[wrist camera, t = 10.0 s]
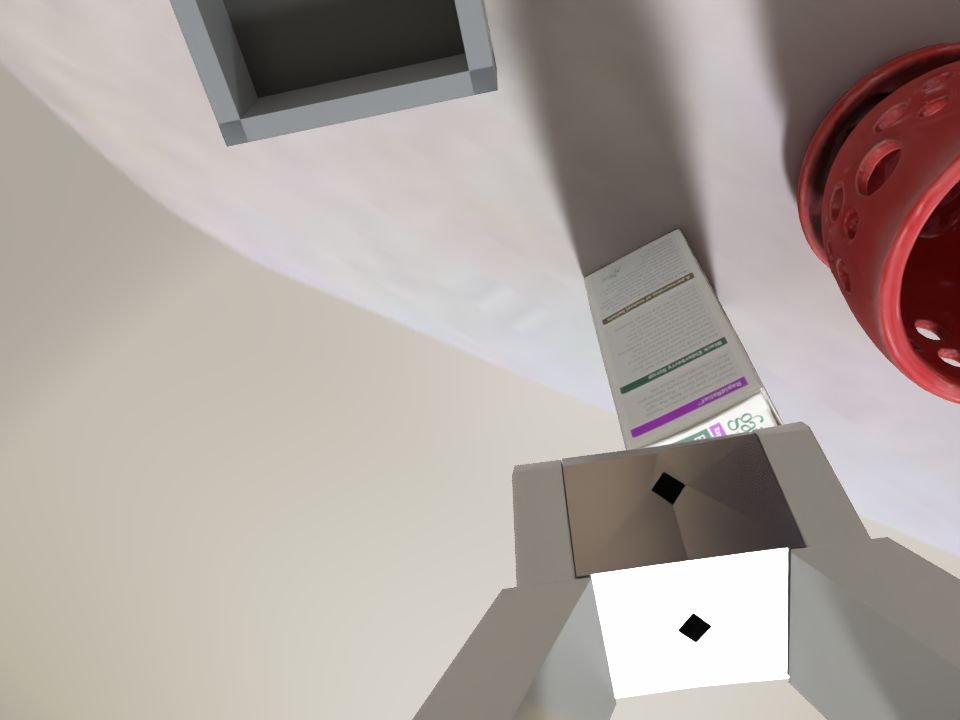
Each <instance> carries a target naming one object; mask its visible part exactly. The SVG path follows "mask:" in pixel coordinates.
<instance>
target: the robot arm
mask: <svg viewBox="0 0 960 720" xmlns="http://www.w3.org/2000/svg"><path fill="white" fill-rule="evenodd" d="M512 483H513V507H514V529H515V554H516V577H517V587H514V588H508V589H502V591H501V592H500V594H499V595H498V597H497V598H496V599H495V601H494V602H493V604H492V605H491V607H490V608H489V609H488V611H487V612H486V614H485V615H484V617H483V618H482V620H481V621H480V622H479V624H478V625H477V627H476V628H475V630H474V631H473V633H472V634H471V636H470V637H469V638H468V640H467V641H466V643H465V644H464V646H463V647H462V649H461V650H460V652H459V653H458V654H457V656H456V657H455V659H454V660H453V662H452V663H451V665H450V666H449V668H448V669H447V670H446V672H445V673H444V675H443V676H442V678H441V679H440V681H439V682H438V683H437V685H436V686H435V688H434V689H433V691H432V692H431V694H430V695H429V697H428V698H427V699H426V701H425V703H424V704H423V705H422V707H421V708H420V709H419V711H418V712H417V714H416V715H415V717H414V718H413V720H610V718H611V715H612V713H613V710H614V708H615V706H616V699H615V698H620V697H627V696H635V695H642V694H648V693H654V692H662V691H668V690H676V689H682V688H690V687H696V686H706V685H717V684H727V683H739V682H750V681H761V680H772V679H784V678H789V683H790V684H791V685H792V686H793V687H794V688H795V689H796V690H797V691H798V692H799V693H800V694H801V695H802V696H803V697H804V698H805V699H806V700H807V701H808V702H810V703H811V704H812V705H813V706H814V707H815V708H816V709H817V710H818V711H819V712H820V713H821V714H822V715H823V716H824V717H825V718H826V719H827V720H960V579H958V578H956V577H954V576H953V575H951V574H949V573H947V572H946V571H944V570H942V569H941V568H939V567H937V566H936V565H934V564H932V563H931V562H929V561H927V560H925V559H924V558H922V557H920V556H919V555H917V554H915V553H914V552H912V551H910V550H909V549H907V548H905V547H903V546H902V545H900V544H898V543H897V542H895V541H893V540H892V539H890V538H888V537H885V538H877V539H871V538H870V536H869V535H868V533H867V531H866V529H865V527H864V526H863V524H862V522H861V520H860V518H859V516H858V515H857V513H856V511H855V509H854V507H853V505H852V504H851V502H850V500H849V498H848V496H847V495H846V493H845V491H844V489H843V487H842V485H841V484H840V482H839V480H838V478H837V476H836V474H835V473H834V471H833V469H832V467H831V465H830V464H829V462H828V460H827V458H826V456H825V454H824V453H823V451H822V449H821V447H820V445H819V444H818V442H817V440H816V438H815V436H814V434H813V433H812V431H811V429H810V427H809V426H807V425H806V424H804V423H803V422H797V423H791V424H785V425H779V426H773V427H768V428H762V429H756V430H752V432H743V433H737V434H730V435H724V436H718V437H712V438H705V439H699V440H693V441H687V442H680V443H674V444H668V445H662V446H656V447H648V448H641V449H633V450H626V451H618V452H610V453H602V454H595V455H587V456H579V457H572V458H564V459H562V461H561V460H556V461H549V462H540V463H533V464H525V465H517V466H515V467H514V471H513V475H512Z"/></svg>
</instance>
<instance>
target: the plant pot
mask: <svg viewBox="0 0 960 720" xmlns="http://www.w3.org/2000/svg"><path fill="white" fill-rule="evenodd" d="M797 202H798V212H799V218H800V222H801V226H802V229H803V232H804V235H805V237H806V239H807V242H808V243H809V245H810V247H811V249H812V250H813V251H814V253H815V254H816V255H817V256H818V258H819V259H820V260H821V261H822V262H823V263H824V264H826V265H827V266H828V267H829V268H830V269H831V272H832V274H833V275H834V277H835V279H836V281H837V283H838V285H839V288H840V290H841V292H842V294H843V296H844V298H845V300H846V302H847V304H848V306H849V308H850V309H851V311H852V313H853V314H854V316H855V318H856V319H857V321H858V322H859V324H860V325H861V327H862V328H863V330H864V331H865V333H866V334H867V335H868V337H869V338H870V339H871V340H872V342H873V343H874V344H875V345H876V347H877V348H878V349H879V350H880V351H881V352H882V353H883V354H884V355H885V357H886V358H887V359H888V360H889V361H890V362H891V363H892V364H893V365H894V366H895V367H897V368H898V369H899V370H900V371H901V372H902V373H903V374H904V375H905V376H906V377H908V378H909V379H910V380H911V381H913V382H914V383H915V384H917V385H918V386H920V387H921V388H923V389H924V390H926V391H928V392H930V393H932V394H934V395H936V396H939V397H941V398H943V399H945V400H948V401H951V402H955V403H958V404H960V367H956V366H953V365H951V364H949V363H946V362H945V361H943V360H942V359H941V358H940V357H943V358H947V359H952V360H955V361H957V362H959V363H960V42H959V43H946V44H940V45H934V46H929V47H925V48H922V49H918V50H915V51H912V52H909V53H907V54H904V55H902V56H900V57H898V58H896V59H893V60H891V61H890V62H888V63H886V64H884V65H883V66H881V67H879V68H877V69H876V70H874V71H873V72H872V73H870V74H869V75H867V76H866V77H864V78H863V79H862V80H860V81H859V82H858V83H856V84H855V85H854V86H853V87H852V88H851V89H850V90H849V91H848V92H847V93H846V94H845V95H844V96H843V97H842V98H841V99H840V100H839V101H838V102H837V103H836V104H835V106H834V107H833V108H832V109H831V110H830V112H829V113H828V114H827V116H826V117H825V118H824V120H823V121H822V123H821V124H820V126H819V127H818V129H817V131H816V133H815V135H814V136H813V138H812V140H811V142H810V144H809V147H808V149H807V151H806V153H805V157H804V160H803V163H802V166H801V170H800V175H799V181H798V193H797ZM916 327H918V328H923V329H926V330H929V331H931V332H933V333H934V334H936V335H937V336H938V337H939V338H940V340H933V339H929V338H926V337H925V336H923V335H921V334H920V333H919V332H918V331H917V329H916Z"/></svg>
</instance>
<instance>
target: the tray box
mask: <svg viewBox="0 0 960 720" xmlns="http://www.w3.org/2000/svg"><path fill="white" fill-rule="evenodd" d="M170 3H171V5H172V8H173V10H174V13H175V15H176V18H177V21H178V23H179V26H180V28H181V31H182V33H183V36H184V38H185V41H186V44H187V46H188V49H189V51H190V54H191V56H192V59H193V61H194V64H195V66H196V69H197V72H198V74H199V77H200V79H201V82H202V84H203V87H204V89H205V92H206V94H207V97H208V100H209V102H210V105H211V107H212V110H213V112H214V115H215V117H216V120H217V123H218V125H219V128H220V130H221V133H222V135H223V138H224V140H225V143H226V145H227V146H232V145H237V144H242V143H247V142H251V141H256V140H261V139H266V138H271V137H275V136H280V135H285V134H290V133H294V132H299V131H304V130H309V129H314V128H318V127H323V126H328V125H333V124H338V123H342V122H347V121H352V120H357V119H361V118H366V117H371V116H376V115H381V114H385V113H390V112H395V111H400V110H405V109H409V108H414V107H419V106H424V105H429V104H433V103H438V102H443V101H448V100H452V99H457V98H462V97H467V96H472V95H476V94H481V93H486V92H491V91H496V90H498V87H497V68H496V63H495V57H494V52H493V47H492V42H491V36H490V31H489V26H488V20H487V15H486V10H485V5H484V0H170Z"/></svg>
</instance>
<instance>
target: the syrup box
mask: <svg viewBox="0 0 960 720" xmlns="http://www.w3.org/2000/svg"><path fill="white" fill-rule="evenodd" d="M584 282H585V287H586V291H587V295H588V300H589V305H590V310H591V314H592V318H593V322H594V326H595V330H596V334H597V338H598V342H599V346H600V350H601V354H602V358H603V362H604V366H605V370H606V373H607V377H608V381H609V385H610V388H611V392H612V396H613V400H614V404H615V407H616V411H617V415H618V419H619V423H620V427H621V431H622V436H623V439H624V444H625V447H626V450H633V449H641V448H648V447H656V446H662V445H668V444H674V443H680V442H687V441H693V440H699V439H705V438H712V437H718V436H724V435H730V434H737V433H743V432H752V430H756V429H762V428H768V427H773V426H779V425H784V424H783V422H782V420H781V418H780V416H779V414H778V412H777V410H776V408H775V406H774V405H773V403H772V401H771V399H770V397H769V395H768V393H767V391H766V389H765V388H764V386H763V384H762V382H761V380H760V378H759V376H758V374H757V372H756V370H755V368H754V366H753V364H752V363H751V361H750V359H749V356H748V354H747V352H746V351H745V349H744V347H743V345H742V343H741V341H740V339H739V337H738V336H737V334H736V332H735V330H734V328H733V326H732V324H731V323H730V321H729V319H728V317H727V315H726V313H725V311H724V309H723V308H722V306H721V304H720V302H719V300H718V298H717V296H716V294H715V292H714V290H713V289H712V287H711V285H710V283H709V281H708V279H707V278H706V276H705V274H704V272H703V270H702V268H701V266H700V264H699V263H698V261H697V259H696V257H695V255H694V253H693V251H692V250H691V248H690V246H689V244H688V242H687V240H686V239H685V237H684V235H683V233H682V231H681V230H679V229H677V230H675V231H673V232H671V233H668V234H667V235H665V236H662V237H660V238H658V239H657V240H654V241H652V242H650V243H648V244H647V245H645V246H643V247H641V248H639V249H637V250H635V251H633V252H631V253H630V254H628V255H626V256H624V257H622V258H620V259H618V260H616V261H615V262H613V263H611V264H609V265H607V266H605V267H604V268H602V269H600V270H598V271H596V272H594V273H592V274H591V275H589V276H587V277H585V278H584Z"/></svg>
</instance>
